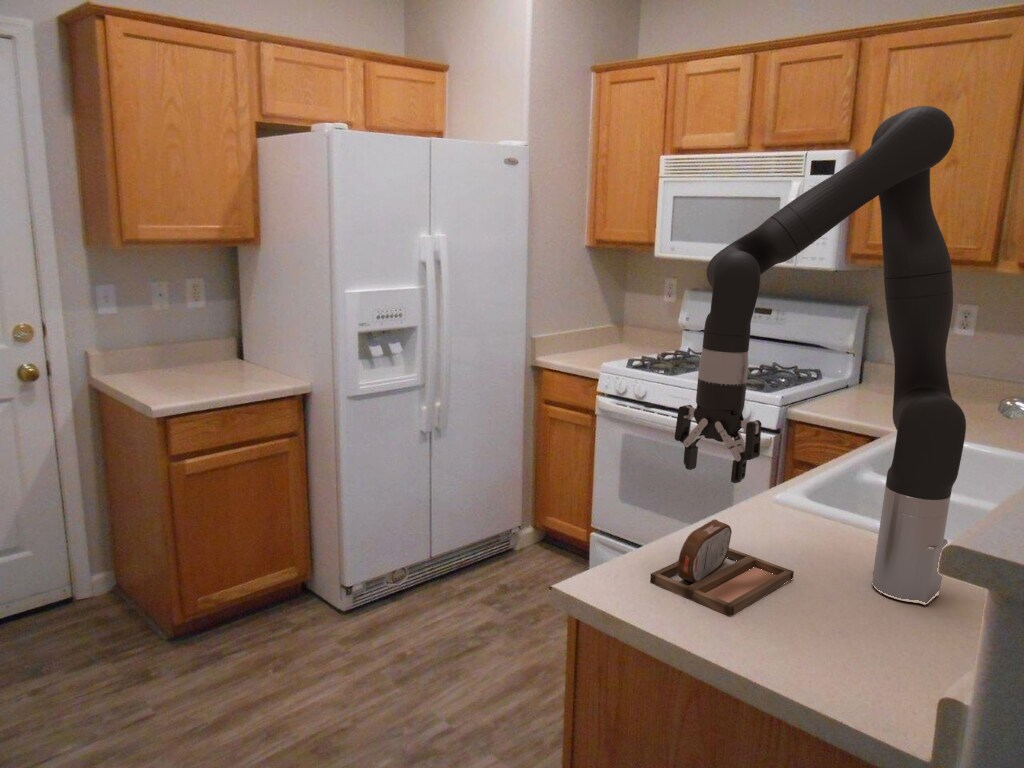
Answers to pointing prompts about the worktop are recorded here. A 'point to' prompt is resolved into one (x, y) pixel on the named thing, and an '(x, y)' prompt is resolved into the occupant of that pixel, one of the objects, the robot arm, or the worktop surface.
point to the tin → (704, 551)
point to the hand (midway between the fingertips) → (712, 475)
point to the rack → (728, 583)
